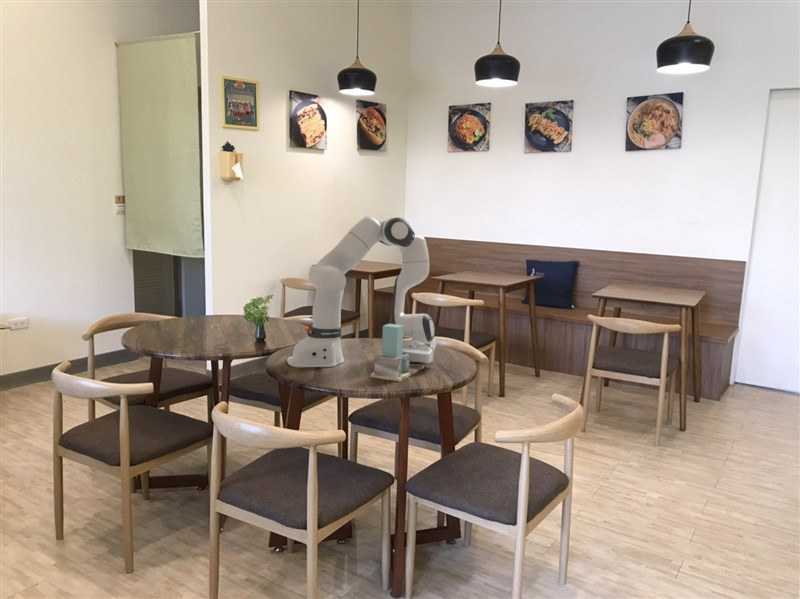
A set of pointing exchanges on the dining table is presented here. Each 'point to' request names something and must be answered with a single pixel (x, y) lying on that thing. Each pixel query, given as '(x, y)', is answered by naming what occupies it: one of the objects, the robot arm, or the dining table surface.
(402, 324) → the robot arm
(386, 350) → the teal block
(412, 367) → the vise base
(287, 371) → the dining table surface
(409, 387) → the dining table surface
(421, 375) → the dining table surface
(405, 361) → the block
